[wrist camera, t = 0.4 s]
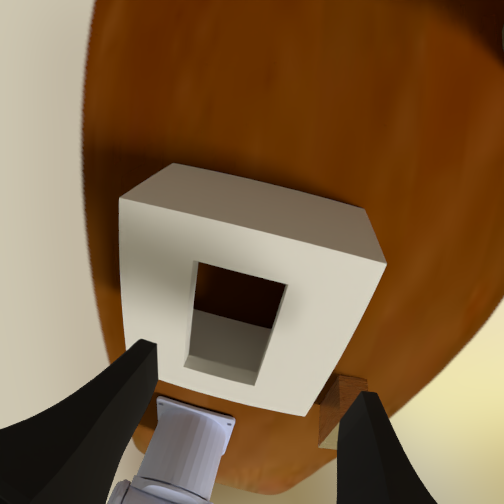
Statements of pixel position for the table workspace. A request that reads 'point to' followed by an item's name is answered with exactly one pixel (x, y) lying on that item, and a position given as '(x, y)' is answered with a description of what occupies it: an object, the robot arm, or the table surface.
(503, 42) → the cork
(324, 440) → the wooden brick
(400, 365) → the table surface
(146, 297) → the slot box
